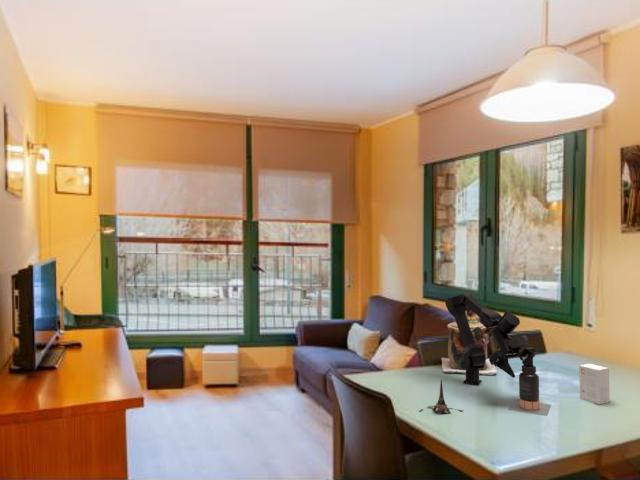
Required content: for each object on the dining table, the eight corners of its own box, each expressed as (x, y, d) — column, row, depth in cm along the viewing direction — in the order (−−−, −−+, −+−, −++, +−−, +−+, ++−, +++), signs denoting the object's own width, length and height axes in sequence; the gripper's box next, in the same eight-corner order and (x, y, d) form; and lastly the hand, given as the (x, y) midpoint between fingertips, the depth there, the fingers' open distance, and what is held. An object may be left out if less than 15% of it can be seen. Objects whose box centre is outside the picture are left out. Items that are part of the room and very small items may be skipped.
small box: (610, 402, 181) (609, 367, 181) (599, 405, 178) (598, 370, 178) (589, 396, 189) (589, 363, 189) (579, 398, 186) (578, 365, 186)
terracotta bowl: (521, 402, 181) (521, 394, 181) (540, 405, 177) (540, 397, 177) (518, 408, 175) (518, 400, 175) (538, 411, 172) (538, 403, 172)
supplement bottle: (543, 400, 174) (543, 367, 174) (527, 402, 172) (527, 369, 172) (530, 394, 180) (530, 363, 180) (515, 396, 179) (514, 364, 179)
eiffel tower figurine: (467, 412, 174) (467, 375, 174) (459, 421, 165) (458, 383, 165) (427, 405, 182) (427, 370, 182) (417, 413, 173) (417, 376, 173)
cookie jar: (440, 360, 246) (440, 298, 246) (491, 362, 240) (490, 299, 240) (442, 374, 222) (442, 305, 221) (498, 376, 216) (498, 306, 216)
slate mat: (514, 399, 185) (514, 399, 185) (551, 405, 178) (551, 404, 178) (507, 410, 174) (507, 409, 174) (547, 416, 167) (547, 416, 167)
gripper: (493, 330, 180) (514, 367, 170) (533, 326, 187) (555, 362, 176) (480, 346, 188) (499, 382, 178) (518, 342, 194) (539, 377, 184)
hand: (524, 375), depth 179 cm, fingers open, 9 cm apart
